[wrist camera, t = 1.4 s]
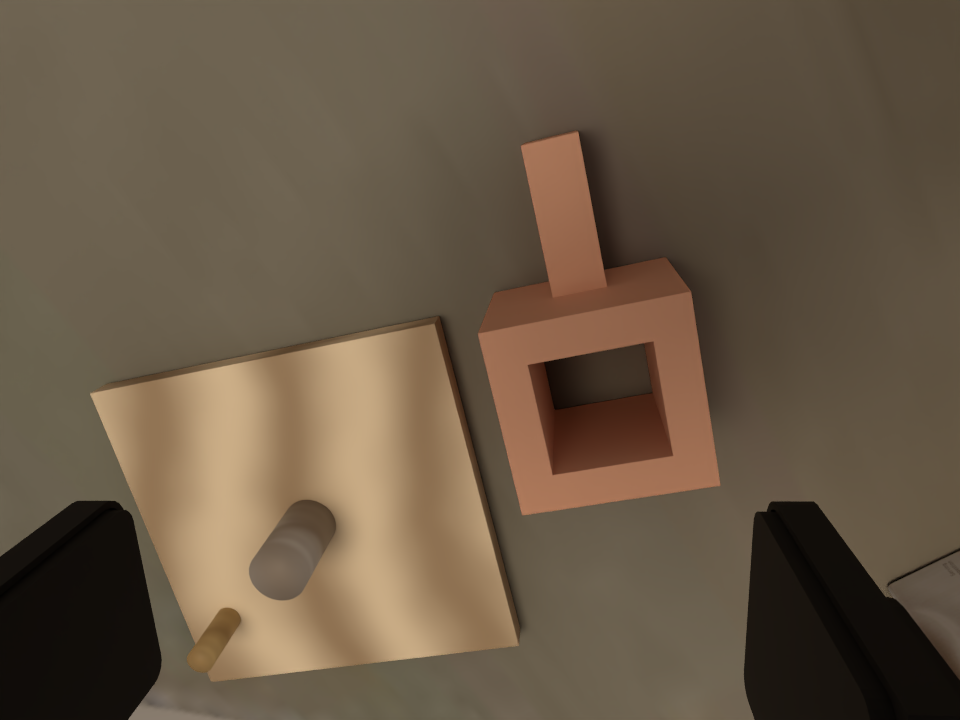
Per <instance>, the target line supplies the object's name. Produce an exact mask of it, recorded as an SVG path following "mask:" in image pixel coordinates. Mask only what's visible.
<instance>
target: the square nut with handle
mask: <svg viewBox="0 0 960 720" xmlns="http://www.w3.org/2000/svg"><path fill="white" fill-rule="evenodd" d="M521 149H522V154H523V158H524V163H525V168H526V173H527V178H528V182H529V187H530V192H531V197H532V201H533V206H534V211H535V216H536V220H537V225H538V230H539V235H540V239H541V244H542V249H543V254H544V258H545V263H546V268H547V273H548V277H549V281H548V282H543V283H538V284H533V285H529V286H524V287H519V288H514V289H509V290H504V291H500V292H495V293H494V294H493V297H492V299H491V302H490V304H489V307H488V309H487V312H486V314H485V317H484V319H483V322H482V325H481V327H480V330H479V332H478V336H479V340H480V345H481V349H482V353H483V357H484V361H485V365H486V369H487V373H488V377H489V381H490V385H491V389H492V393H493V398H494V402H495V406H496V410H497V414H498V418H499V422H500V426H501V430H502V434H503V438H504V442H505V447H506V451H507V455H508V459H509V463H510V467H511V471H512V475H513V479H514V483H515V487H516V491H517V495H518V500H519V504H520V508H521V512H522V515H528V514H535V513H542V512H548V511H555V510H562V509H568V508H575V507H582V506H588V505H595V504H602V503H608V502H615V501H622V500H628V499H635V498H641V497H648V496H655V495H661V494H668V493H675V492H681V491H688V490H695V489H701V488H708V487H715V486H721V485H720V479H719V472H718V466H717V459H716V452H715V446H714V439H713V433H712V426H711V420H710V413H709V406H708V400H707V393H706V387H705V380H704V373H703V367H702V360H701V354H700V347H699V340H698V334H697V327H696V321H695V314H694V308H693V301H692V294H691V291H690V289H689V288H688V287H687V285H686V284H685V283H684V281H683V280H682V279H681V277H680V276H679V274H678V273H677V272H676V270H675V269H674V268H673V266H672V265H671V264H670V262H669V261H668V260H667V258H666V257H664V258H659V259H654V260H649V261H644V262H639V263H635V264H630V265H625V266H620V267H615V268H611V269H606V270H604V268H603V262H602V257H601V252H600V246H599V241H598V236H597V230H596V225H595V219H594V214H593V209H592V203H591V198H590V193H589V187H588V182H587V177H586V171H585V166H584V160H583V155H582V150H581V144H580V139H579V134H578V131H577V130H576V131H572V132H568V133H564V134H560V135H556V136H551V137H547V138H543V139H539V140H535V141H531V142H527V143H524V144H523V145H521ZM642 343H644V346H645V352H646V358H647V363H648V369H649V375H650V380H651V386H652V392H653V393H649V394H644V395H638V396H632V397H627V398H621V399H615V400H610V401H604V402H598V403H592V404H587V405H581V406H575V407H570V408H564V409H558V410H554V405H553V400H552V396H551V391H550V387H549V382H548V378H547V373H546V369H545V364H544V362H546V361H551V360H556V359H562V358H567V357H572V356H578V355H583V354H588V353H594V352H599V351H604V350H610V349H615V348H620V347H626V346H631V345H636V344H642Z"/></svg>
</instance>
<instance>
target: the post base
mask: <svg viewBox="0 0 960 720" xmlns="http://www.w3.org/2000/svg"><path fill="white" fill-rule="evenodd" d="M90 394H91V397H92V399H93V401H94V404H95V406H96V408H97V411H98V413H99V416H100V418H101V420H102V423H103V425H104V427H105V430H106V432H107V435H108V437H109V439H110V442H111V444H112V446H113V449H114V451H115V454H116V456H117V458H118V461H119V463H120V466H121V468H122V470H123V473H124V475H125V477H126V480H127V482H128V485H129V487H130V489H131V492H132V494H133V496H134V499H135V501H136V504H137V506H138V508H139V511H140V513H141V515H142V518H143V520H144V523H145V525H146V527H147V530H148V532H149V534H150V537H151V539H152V542H153V544H154V546H155V549H156V551H157V553H158V556H159V558H160V561H161V563H162V565H163V568H164V570H165V573H166V575H167V577H168V580H169V582H170V584H171V587H172V589H173V592H174V594H175V596H176V599H177V601H178V603H179V606H180V608H181V611H182V613H183V615H184V618H185V620H186V622H187V625H188V627H189V630H190V632H191V634H192V637H193V639H194V641H195V646H194V647H193V649H192V650H191V652H190V653H189V654H188V656H187V662H188V664H189V666H190V667H191V668H192V669H193V670H195V671H197V672H202V673H204V672H208V675H209V677H210V680H211V682H215V681H224V680H232V679H241V678H249V677H258V676H266V675H275V674H283V673H291V672H300V671H308V670H317V669H325V668H334V667H342V666H351V665H359V664H368V663H376V662H385V661H393V660H401V659H410V658H418V657H427V656H435V655H444V654H452V653H461V652H469V651H478V650H486V649H495V648H503V647H512V646H519V638H520V625H519V622H518V618H517V614H516V610H515V606H514V602H513V598H512V595H511V591H510V587H509V583H508V579H507V575H506V571H505V568H504V564H503V560H502V556H501V552H500V548H499V544H498V541H497V537H496V533H495V529H494V525H493V521H492V517H491V514H490V510H489V506H488V502H487V498H486V494H485V491H484V487H483V483H482V479H481V475H480V471H479V467H478V464H477V460H476V456H475V452H474V448H473V444H472V440H471V437H470V433H469V429H468V425H467V421H466V417H465V413H464V410H463V406H462V402H461V398H460V394H459V390H458V387H457V383H456V379H455V375H454V371H453V367H452V363H451V360H450V356H449V352H448V348H447V344H446V340H445V336H444V333H443V329H442V325H441V321H440V317H439V316H437V317H432V318H427V319H422V320H417V321H412V322H407V323H402V324H398V325H393V326H388V327H383V328H378V329H373V330H368V331H363V332H358V333H353V334H349V335H344V336H339V337H334V338H329V339H324V340H319V341H314V342H309V343H305V344H300V345H295V346H290V347H285V348H280V349H275V350H270V351H265V352H261V353H256V354H251V355H246V356H241V357H236V358H231V359H226V360H221V361H217V362H212V363H207V364H202V365H197V366H192V367H187V368H182V369H177V370H173V371H168V372H163V373H158V374H153V375H148V376H143V377H138V378H133V379H128V380H124V381H119V382H114V383H109V384H106V385H104V386H102V387H100V388H99V389H97V390H95V391H94V392H92V393H90Z"/></svg>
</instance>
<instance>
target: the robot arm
mask: <svg viewBox="0 0 960 720" xmlns="http://www.w3.org/2000/svg"><path fill="white" fill-rule="evenodd" d="M161 661H162V659H161V652H160V647H159V642H158V637H157V633H156V628H155V623H154V618H153V613H152V608H151V603H150V599H149V594H148V589H147V584H146V579H145V574H144V569H143V565H142V560H141V555H140V550H139V545H138V540H137V536H136V531H135V526H134V521H133V518H132V515H131V514H130V513H129V512H128V511H126V510H123V508H122V506H121V505H120V504H119V503H118V502H116V501H76V502H74V503H72V504H71V505H69V506H68V507H67V508H65V509H64V510H63V511H61V512H60V513H58V514H57V515H56V516H54V517H53V518H52V519H50V520H49V521H48V522H46V523H45V524H44V525H42V526H41V527H40V528H38V529H37V530H36V531H34V532H33V533H32V534H30V535H29V536H28V537H26V538H25V539H23V540H22V541H21V542H19V543H18V544H17V545H15V546H14V547H13V548H11V549H10V550H9V551H7V552H6V553H5V554H3V555H2V556H1V557H0V720H128V719H129V717H130V716H131V715H132V713H133V712H134V711H135V709H136V708H137V707H138V705H139V704H140V703H141V701H142V700H143V698H144V697H145V696H146V694H147V693H148V692H149V690H150V689H151V688H152V686H153V685H154V684H155V682H156V680H157V678H158V676H159V673H160V669H161ZM744 682H745V689H746V694H747V698H748V702H749V705H750V707H751V710H752V713H753V716H754V719H755V720H960V680H959V678H958V677H957V676H956V674H955V673H954V672H953V671H952V669H951V668H950V667H949V665H948V664H947V663H946V661H945V660H944V659H943V657H942V656H941V655H940V654H939V652H938V651H937V650H936V648H935V647H934V646H933V644H932V643H931V642H930V640H929V639H928V638H927V636H926V635H925V634H924V633H923V631H922V630H921V629H920V627H919V626H918V625H917V623H916V622H915V621H914V619H913V618H912V617H911V616H910V614H909V613H908V612H907V610H906V609H905V608H904V606H903V605H901V604H900V603H899V602H898V601H897V600H896V599H893V598H890V597H885V596H884V594H883V593H882V592H881V590H880V589H879V588H878V586H877V585H876V584H875V582H874V581H873V579H872V578H871V577H870V575H869V574H868V573H867V571H866V570H865V569H864V567H863V566H862V565H861V563H860V562H859V561H858V559H857V558H856V556H855V555H854V554H853V552H852V551H851V550H850V548H849V547H848V546H847V544H846V543H845V542H844V540H843V539H842V538H841V536H840V535H839V533H838V532H837V531H836V529H835V528H834V527H833V525H832V524H831V523H830V521H829V520H828V519H827V517H826V516H825V515H824V513H823V512H822V510H821V509H820V508H819V506H818V505H817V504H816V503H815V502H771V503H770V504H769V506H768V509H767V512H756V514H755V517H754V524H753V539H752V555H751V571H750V586H749V602H748V617H747V633H746V649H745V664H744Z"/></svg>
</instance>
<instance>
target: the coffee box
mask: <svg viewBox="0 0 960 720" xmlns="http://www.w3.org/2000/svg"><path fill="white" fill-rule="evenodd" d="M888 589H889V592H890V593H891V595H892V597H893V598H894V599H896V600H897V601H898V602H899V603H900V604H901V605H903V606H904V608H905V609H906V610H907V612H908V613H909V614H910V616H911V617H912V618H913V619H914V621H915V622H916V623H917V625H918V626H919V627H920V629H921V630H922V631H923V633H924V634H925V635H926V636H927V638H928V639H929V640H930V642H931V643H932V644H933V646H934V647H935V648H936V650H937V651H938V652H939V654H940V655H941V656H942V657H943V659H944V660H945V661H946V663H947V664H948V665H949V667H950V668H951V669H952V671H953V672H954V673H955V674H956V676H957V677H958V678H959V680H960V551H958V552H956V553H954V554H952V555H950V556H948V557H946V558H943V559H941V560H939V561H937V562H935V563H933V564H931V565H929V566H927V567H925V568H923V569H921V570H919V571H916V572H914V573H912V574H910V575H908V576H906V577H904V578H902V579H900V580H898V581H895V582H893V583H891V584H890V585H889V586H888Z"/></svg>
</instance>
